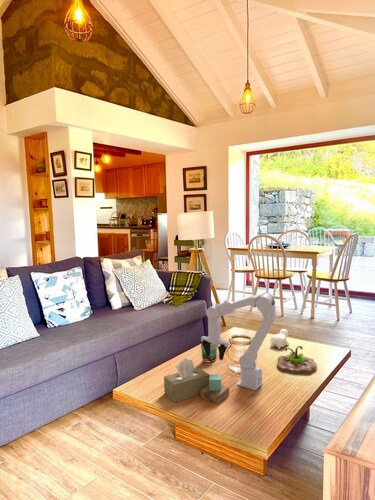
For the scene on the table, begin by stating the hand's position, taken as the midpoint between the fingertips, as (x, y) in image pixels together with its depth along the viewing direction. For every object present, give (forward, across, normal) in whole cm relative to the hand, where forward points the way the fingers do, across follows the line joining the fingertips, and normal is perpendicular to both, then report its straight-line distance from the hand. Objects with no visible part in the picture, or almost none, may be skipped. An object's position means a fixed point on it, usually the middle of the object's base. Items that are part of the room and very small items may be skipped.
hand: (214, 357), depth 173 cm
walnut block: (+11, -10, +14) cm, 20 cm away
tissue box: (+11, +3, +18) cm, 22 cm away
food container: (+11, +14, -18) cm, 25 cm away
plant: (+11, -27, -36) cm, 46 cm away
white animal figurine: (+11, -7, -60) cm, 61 cm away
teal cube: (+7, -10, +14) cm, 18 cm away
